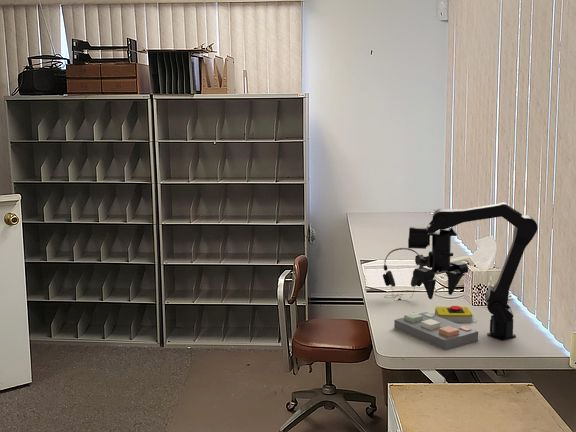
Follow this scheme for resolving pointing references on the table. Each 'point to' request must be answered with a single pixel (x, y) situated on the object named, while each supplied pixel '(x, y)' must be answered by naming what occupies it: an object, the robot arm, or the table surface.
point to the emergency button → (455, 314)
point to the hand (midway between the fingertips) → (440, 296)
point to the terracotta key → (448, 331)
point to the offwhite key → (430, 324)
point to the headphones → (390, 280)
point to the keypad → (437, 332)
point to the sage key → (413, 317)
